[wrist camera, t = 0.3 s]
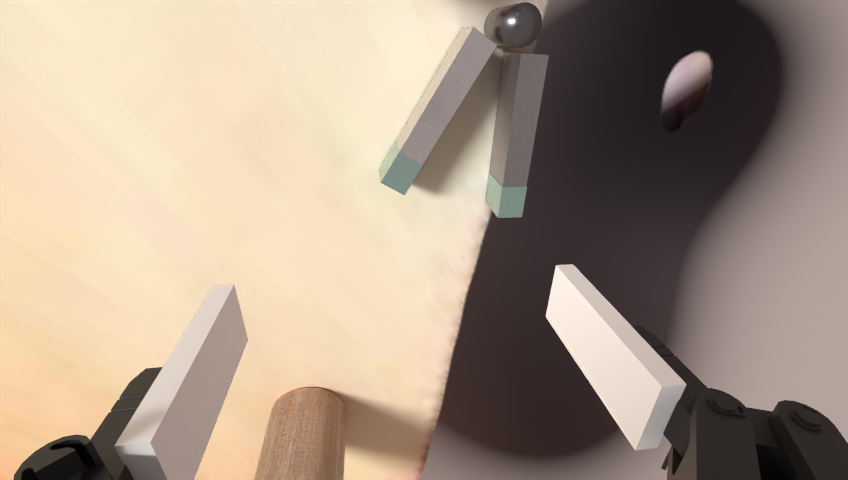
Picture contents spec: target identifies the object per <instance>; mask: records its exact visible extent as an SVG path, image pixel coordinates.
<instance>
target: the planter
mask: <svg viewBox="0 0 848 480" xmlns="http://www.w3.org/2000/svg"><path fill="white" fill-rule="evenodd" d="M345 431H346V408H345V405H344V403H343V401H342V400H341V399H340V398H339V397H338V396H337V395H336V394H334V393H332V392H330V391H328V390H325V389H320V388H300V389H296V390H292V391H290V392H288V393H286V394H284V395H282V396H281V397H280V398H279V399H278V400H277V401H276V402H275V404H274V405H273V408H272V411H271V414H270V417H269V421H268V426H267V430H266V434H265V438H264V442H263V446H262V450H261V454H260V458H259V462H258V466H257V471H256V475H255V479H254V480H343V477H344V454H345Z"/></svg>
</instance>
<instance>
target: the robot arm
mask: <svg viewBox="0 0 848 480" xmlns="http://www.w3.org/2000/svg"><path fill="white" fill-rule="evenodd" d="M546 318H547V319H548V321H549V322H550V324H551V325H552V327H553V328H554V330H555V331H556V332H557V334H558V335H559V337H560V339H561V340H562V342H563V343H564V345H565V346H566V347H567V349H568V351H569V352H570V354H571V355H572V357H573V358H574V360H575V361H576V363H577V364H578V366H579V367H580V369H581V370H582V371H583V373H584V375H585V376H586V378H587V379H588V380H589V382H590V384H591V385H592V386H593V388H594V390H595V391H596V393H597V394H598V395H599V397H600V398H601V400H602V401H603V403H604V404H605V406H606V407H607V409H608V410H609V412H610V413H611V415H612V416H613V418H614V419H615V421H616V422H617V424H618V425H619V427H620V428H621V430H622V431H623V433H624V434H625V436H626V437H627V439H628V440H629V442H630V443H631V445H632V446H633V448H634V449H635V450H643V449H650V448H658V446H659V443H660V441H661V439H662V437H663V435H665V437H666V438H667V439H668V440H669V442H670V443H671V444H672V446H671V448H670V451H669V452H668V454H667V456H666V458H665V461H664V463H663V465H662V469H664V470H665V469H666V468H667V466H668V472H667V480H848V443H847V442H846V441H845V439H844V438H843V436H842V435H841V433H840V432H839V431H838V429H837V428H836V427H835V425H834V424H833V423H832V422H831V421H830V420H829V419H828V418H826V417H825V416H824V415H822V414H821V413H820V412H818V411H817V410H814V409H813V408H811V407H809V406H807V405H804V404H801V403H798V402H795V401H787V400H784V401H781V402H778V404H777V405H776V407H775V409H774V410H773V412H771V411H765V410H759V409H753V408H746V407H745V406H744V405H743V404H742V403H741V402H740V401H739V400H737V399H736V398H734V397H733V396H731V395H729V394H727V393H725V392H723V391H720V390H716V389H712V388H707V387H706V386H705V385H704V384H703V383H702V382H701V381H700V380H699V379H698V378H697V377H696V376H695V375H694V374H693V373H692V372H691V371H690V370H689V369H688V368H687V367H686V366H685V365H684V364H683V363H682V362H681V361H680V360H679V359H678V358H677V357H676V356H674V354H673V353H672V352H671V351H670V350H669V349H668V348H665V345H664V344H663V343H662V342H661V341H660V340H659V339H658V338H657V337H656V336H655V335H654V334H652V333H650V332H649V331H647V330H646V329H644V328H642V327H641V326H633V327H632V326H631V325H630V324H629V323H628V322H627V321H626V320H625V319H624V318H623V317H622V316H621V315H620V314H619V313H618V311H616V309H615V308H614V307H613V306H612V305H611V304H610V303H609V302H608V301H607V300H606V299H605V298H604V297H603V296H602V295H601V294H600V293H599V291H598V290H597V289H596V288H595V287H594V286H593V285H592V284H591V283H590V282H589V281H588V280H587V279H586V278H585V277H584V276H583V275H582V274H581V273H580V272H579V270H578V269H577V268H576V267H575V266H574V265H573V264H570V265H556V268H555V273H554V279H553V283H552V288H551V293H550V298H549V303H548V308H547V312H546ZM247 341H248V339H247V334H246V330H245V326H244V322H243V318H242V314H241V310H240V306H239V302H238V298H237V294H236V290H235V285H234V284H233V285H216V286H213V287H212V288H211V290H210V291H209V293H208V295H207V296H206V298H205V300H204V301H203V303H202V304H201V306H200V308H199V309H198V311H197V313H196V314H195V316H194V317H193V319H192V321H191V322H190V324H189V326H188V327H187V329H186V330H185V332H184V334H183V335H182V337H181V339H180V340H179V342H178V343H177V345H176V347H175V348H174V350H173V352H172V353H171V355H170V356H169V358H168V360H167V361H166V363H165V365H164V366H163V367H159V368H147V369H145V370H144V371H143V372H141V373H140V374H139V375H138V376H137V377H135V378H134V379H133V380H132V381H131V382H130V383H129V384H128V386H127V387H126V389H125V390H124V392H123V393H122V394H121V396H120V399H119V400H117V402H116V403H115V405H114V406H113V408H112V409H111V412H110V413H108V415H107V416H106V418H105V419H104V421H103V422H102V424H101V425H100V427H99V428H98V429H97V431H96V432H95V434H94V435H93V437H92V438H91V440H90V439H89V438H88V437H87V436H82V435H72V436H66V437H62V438H60V439H57V440H55V441H53V442H50V443H48V444H47V445H45V446H43V447H42V448H40V449H39V450H37V451H35V452H34V453H33V454H32V455H31V456H30V457H28V458H27V459H26V460H25V461H24V462H23V463H22V464H21V466H20V467H19V469H18V470H17V472H16V473H15V475H14V480H194V478H195V475H196V472H197V470H198V467H199V465H200V462H201V460H202V457H203V454H204V452H205V449H206V447H207V444H208V441H209V439H210V436H211V434H212V431H213V428H214V426H215V423H216V421H217V418H218V416H219V413H220V410H221V408H222V405H223V403H224V400H225V397H226V395H227V392H228V390H229V387H230V385H231V382H232V379H233V377H234V374H235V372H236V369H237V366H238V364H239V361H240V359H241V356H242V353H243V351H244V348H245V346H246V343H247Z"/></svg>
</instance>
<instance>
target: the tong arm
mask: <svg viewBox="0 0 848 480" xmlns="http://www.w3.org/2000/svg"><path fill="white" fill-rule="evenodd" d="M496 46H497V45H496V44H495V43H494V42H492V41H491V40H490V39H488V38H487V37H486V36H484V35H483V34H482V33H481V32H479V31H478V30H477V29H475V28H474V27H467V28H462V29H461V30H460V32H459V34H458V35H457V37H456V39H455V41H454V42H453V44H452V46H451V47H450V49H449V51H448V53H447V54H446V56H445V58H444V59H443V61H442V63H441V65H440V66H439V68H438V70H437V71H436V73H435V75H434V77H433V78H432V80H431V82H430V83H429V85H428V87H427V89H426V90H425V92H424V94H423V96H422V97H421V99H420V101H419V102H418V104H417V106H416V108H415V109H414V111H413V113H412V114H411V116H410V118H409V120H408V121H407V123H406V125H405V126H404V128H403V130H402V132H401V133H400V135H399V137H398V138H397V140H396V141H395V143H394V145H393V146H392V148H391V150H390V151H389V153H388V155H387V157H386V158H385V160H384V162H383V163H382V165H381V167H380V169H379V172H380V180H381V183H383V184H384V185H386V186H388V187H390V188H392V189H394V190H396V191H397V192H399V193H401V194H403V195H405V194H406V192H407V190H408V189H409V187H410V186H411V184H412V182H413V181H414V179H415V178H416V176H417V174H418V173H419V171H420V170H421V168H422V165H423V163H424V162H425V160H426V159H427V157H428V155H429V154H430V152H431V151H432V149H433V147H434V146H435V144H436V143H437V141H438V139H439V138H440V136H441V135H442V133H443V131H444V130H445V128H446V127H447V125H448V123H449V122H450V120H451V118H452V117H453V115H454V114H455V112H456V110H457V109H458V107H459V106H460V104H461V102H462V101H463V99H464V98H465V96H466V94H467V93H468V91H469V90H470V88H471V86H472V85H473V83H474V82H475V80H476V78H477V77H478V75H479V74H480V72H481V70H482V69H483V67H484V66H485V64H486V62H487V61H488V59H489V57H490V56H491V54H492V53H493V51H494V49H495V48H496Z"/></svg>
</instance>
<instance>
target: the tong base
mask: <svg viewBox="0 0 848 480" xmlns="http://www.w3.org/2000/svg"><path fill="white" fill-rule="evenodd" d="M541 27H542V18H541V14H540V12H539V10H538V9H537V7H536V6H534V5H533V4H531V3H527V2H524V3H519V4H514V5H509V6H505V7H500V8H496V9H494V10H493V11H492V12H490V14H489V15H488V16H487V18H486V20H485V24H484V33H485V36H486V37H487V38H488V39H490V40H491V41H492V42H494V43H495V44H496V45H497V46H507V47H526V46H528V45H530V44H532V43H533V42H534V41H535V40H536V38H537V37H538V35H539V33H540V30H541ZM548 58H549V55H541V54H531V53H509V52H504V55H503V63H502V72H501V80H500V88H499V96H498V104H497V113H496V121H495V129H494V137H493V146H492V154H491V162H490V170H489V176H488V184H487V192H486V202H487V204H488V205H489V206H490V208H491V209H492V210H493V212H494V213H495V214H496V216H497V217H498V218H505V217H522V214H523V208H524V202H525V196H526V190H527V180H528V175H529V169H530V163H531V157H532V151H533V145H534V139H535V134H536V128H537V122H538V116H539V110H540V104H541V99H542V93H543V87H544V81H545V75H546V69H547V63H548Z"/></svg>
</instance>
